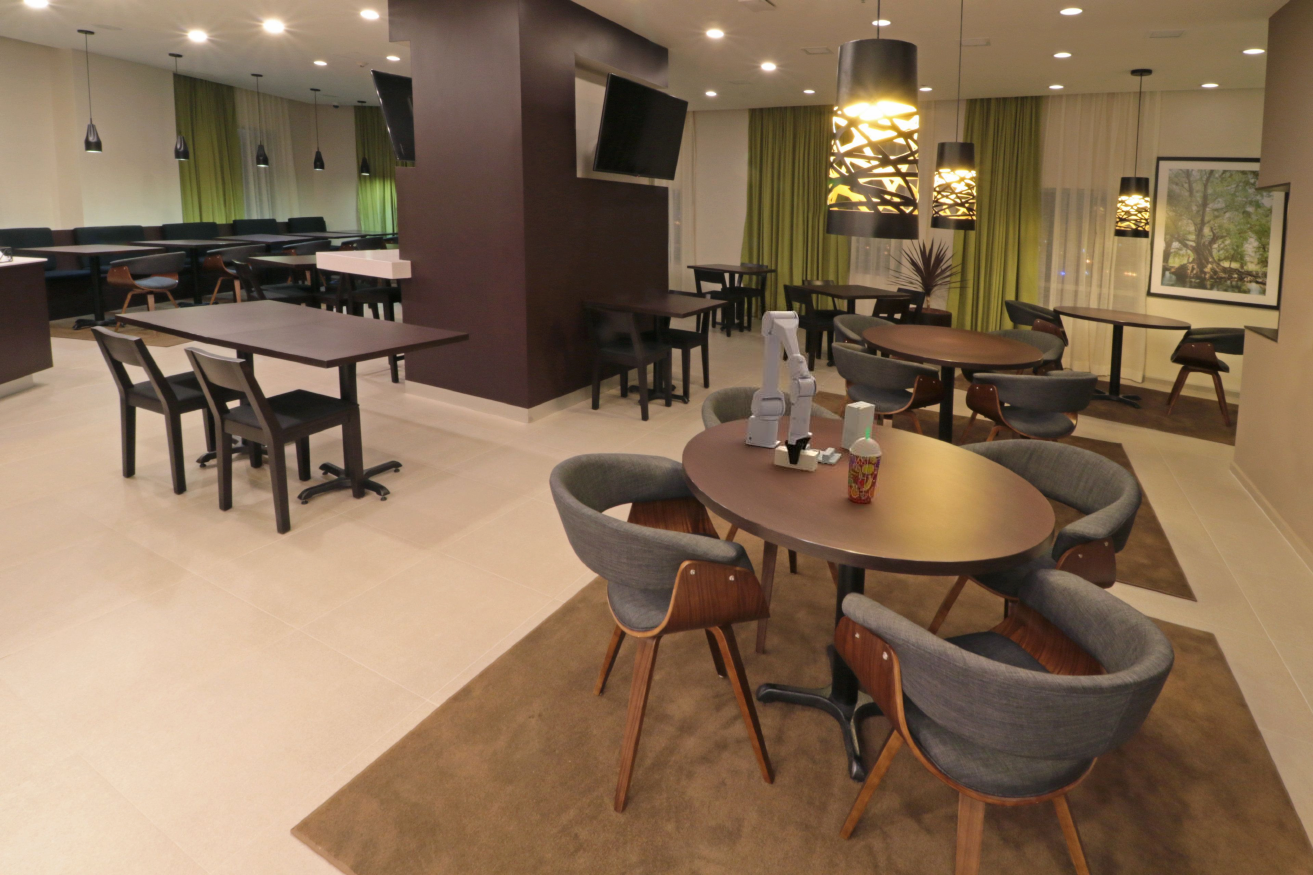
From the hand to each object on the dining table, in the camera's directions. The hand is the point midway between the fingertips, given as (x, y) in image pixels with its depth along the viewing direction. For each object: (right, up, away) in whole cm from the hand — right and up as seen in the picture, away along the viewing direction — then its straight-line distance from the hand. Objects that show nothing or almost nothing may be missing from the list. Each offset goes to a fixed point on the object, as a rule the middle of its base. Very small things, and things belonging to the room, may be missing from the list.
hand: (795, 461), depth 237 cm
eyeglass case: (0, -2, 0) cm, 2 cm away
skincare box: (+23, +4, +21) cm, 31 cm away
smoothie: (+13, -10, -25) cm, 30 cm away
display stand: (+8, +1, +10) cm, 12 cm away
